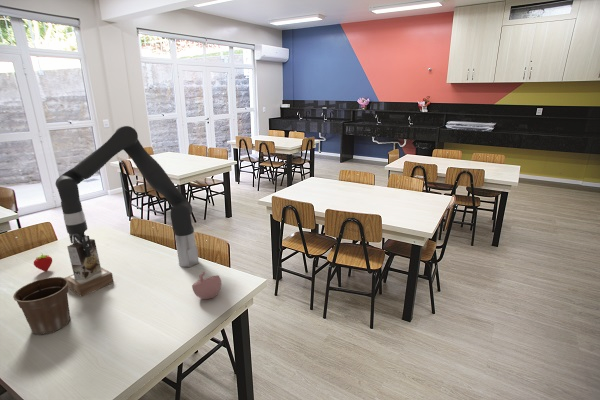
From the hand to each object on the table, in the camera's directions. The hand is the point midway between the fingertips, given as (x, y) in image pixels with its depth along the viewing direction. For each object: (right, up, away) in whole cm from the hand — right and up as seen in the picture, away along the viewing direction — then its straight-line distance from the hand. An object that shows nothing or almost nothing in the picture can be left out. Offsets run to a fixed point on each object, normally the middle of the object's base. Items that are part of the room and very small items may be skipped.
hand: (83, 254), depth 148 cm
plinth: (0, -15, +5) cm, 16 cm away
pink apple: (+58, -17, -5) cm, 61 cm away
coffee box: (0, -10, +3) cm, 10 cm away
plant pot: (+2, -24, -21) cm, 32 cm away
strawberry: (-31, -11, +18) cm, 37 cm away
